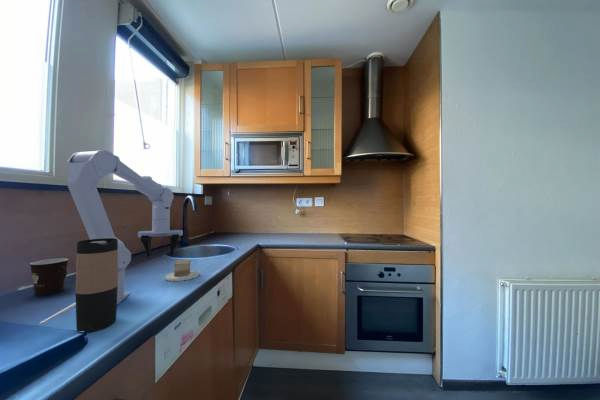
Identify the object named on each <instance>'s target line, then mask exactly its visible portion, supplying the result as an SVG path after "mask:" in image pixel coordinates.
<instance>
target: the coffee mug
mask: <svg viewBox="0 0 600 400" xmlns="http://www.w3.org/2000/svg"><path fill="white" fill-rule="evenodd" d="M68 261H69V258H62V257H60V258H51V259H43V260H38V261H33V262H30V263H29V265H30V273H31V277H32V285H33V292H34V295H35V296H37V297H38V296H49V295H53V294H57V293H61V292H62V291H64V285H65V281H66V280H65V279H66V277H67V275H68V272H67V271H68V270H67V269H68V268H67V267H68Z"/></svg>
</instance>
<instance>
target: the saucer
mask: <svg viewBox="0 0 600 400" xmlns="http://www.w3.org/2000/svg"><path fill="white" fill-rule="evenodd" d="M198 275H200V272H199V271H197V270H192V269H190V274H189V276H180V277H174V272H170V273H168V274H166V275H165V276H164V280H165V281H167V282H185V281H184V280H186V281H190V280H193V279H192V278H194V279H196V278H198V277H199V276H198ZM197 276H198V277H197ZM195 277H196V278H195ZM189 279H190V280H189Z"/></svg>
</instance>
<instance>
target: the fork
mask: <svg viewBox="0 0 600 400" xmlns="http://www.w3.org/2000/svg"><path fill="white" fill-rule="evenodd" d="M73 308H76V301H75V302H74V303H72V304H70V305H69V306H67V307H65V308H63V309H61V310H60V311H58V312H56V313H55V314H53V315H52V314H51V316H49V317H48V318H45V319H43V320H41V321H40V322H39V324H43V323H46V322H48V321H50V320H51V319H54V318H55V317H57V316H60V315H62V314H64V313H65V312H68V311H70V310H71V309H73Z"/></svg>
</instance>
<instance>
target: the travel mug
mask: <svg viewBox="0 0 600 400" xmlns="http://www.w3.org/2000/svg"><path fill="white" fill-rule="evenodd" d="M117 239H118V238H117ZM117 239H115V238H104V239H91V240H90V239H85V240H80V241H77V242H76V259H75V260H76V262H75V263H76V266H75V302H76V306H75V320H76V321H75V322H76V331H77V332H78V331H84V332H86V333H85V334H87V333H95V332H98V331H100V330H102V331H103V330H104V329H107V328H109V327H111V326H112V325H113V324H115V323H116V319H117V309H118V308H117V307H118V305H117V290H118V240H117Z"/></svg>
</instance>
